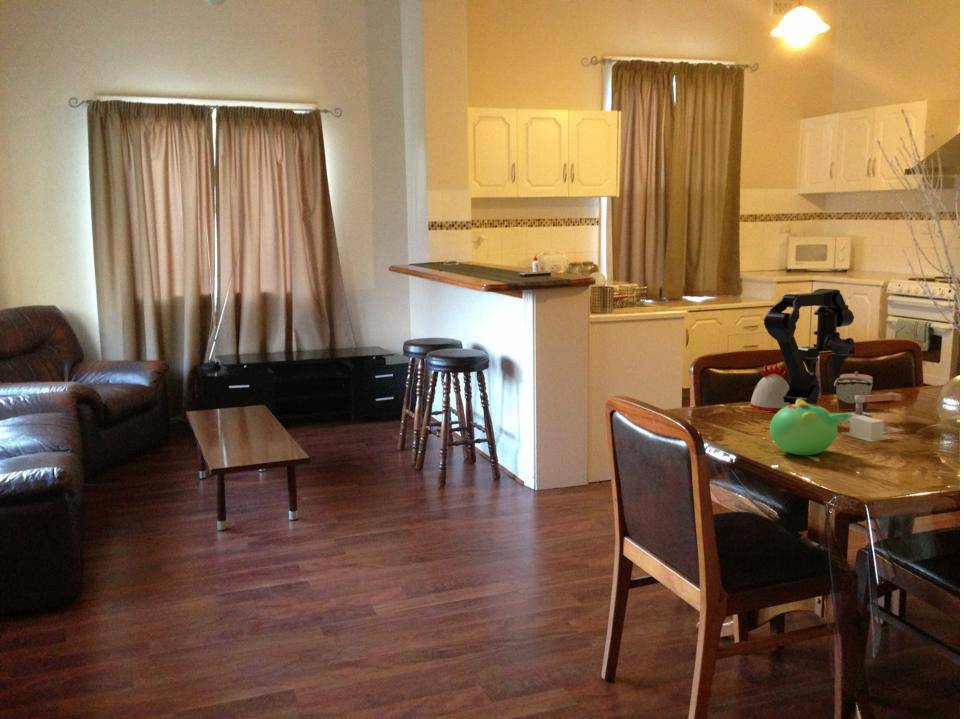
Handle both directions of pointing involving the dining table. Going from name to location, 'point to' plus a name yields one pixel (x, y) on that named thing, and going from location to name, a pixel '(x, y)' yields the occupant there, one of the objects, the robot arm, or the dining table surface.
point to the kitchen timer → (770, 391)
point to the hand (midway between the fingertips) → (824, 377)
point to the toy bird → (805, 428)
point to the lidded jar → (857, 376)
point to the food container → (851, 391)
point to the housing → (860, 413)
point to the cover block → (866, 427)
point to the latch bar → (877, 397)
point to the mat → (866, 438)
